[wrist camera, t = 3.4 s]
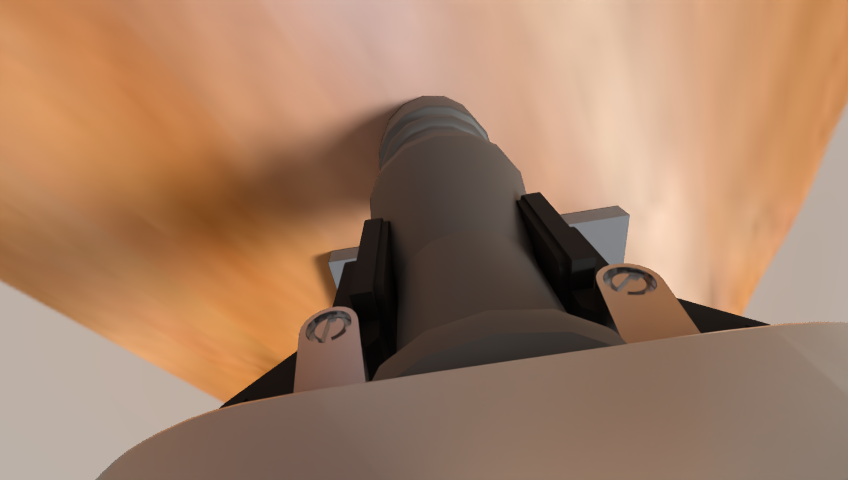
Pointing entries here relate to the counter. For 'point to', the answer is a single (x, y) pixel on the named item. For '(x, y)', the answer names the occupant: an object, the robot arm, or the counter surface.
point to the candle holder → (463, 250)
